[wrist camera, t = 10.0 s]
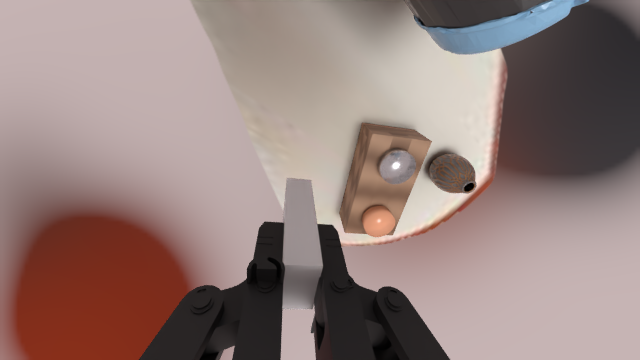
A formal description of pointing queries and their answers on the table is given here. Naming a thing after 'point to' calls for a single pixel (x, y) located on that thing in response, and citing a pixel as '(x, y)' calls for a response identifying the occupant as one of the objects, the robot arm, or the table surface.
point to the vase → (453, 174)
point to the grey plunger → (396, 165)
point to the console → (367, 181)
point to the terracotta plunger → (378, 221)
